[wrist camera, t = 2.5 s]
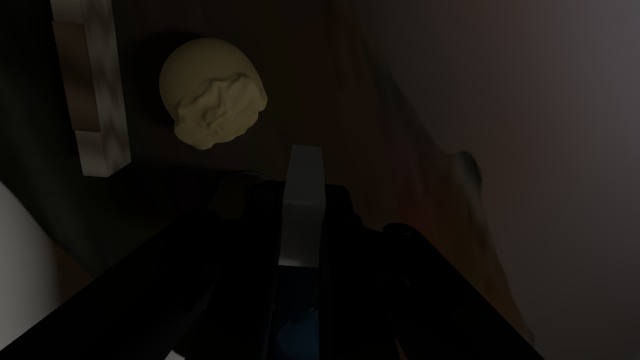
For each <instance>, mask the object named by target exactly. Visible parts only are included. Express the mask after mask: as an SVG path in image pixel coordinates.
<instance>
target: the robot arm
mask: <svg viewBox="0 0 640 360" xmlns="http://www.w3.org/2000/svg"><path fill="white" fill-rule="evenodd" d="M318 264H319V269H318V277H317V285H316V293H318V320H319V360H401V359H400V355H399V352H398V348H397V345H396V341H395V338H394V336H395V337H396V339H397V341H398V343H399V345H400V346H401V348H402V350H403V352H404V354H405V355H406V357H407V359H408V360H544V359H543V357H542V356H541V355H540V354H539V353H538V352H537V351H536V350H535V349H534V348H533V347H532V346H531V345H530V344H529V343H528V342H527V341H526V340H525V339H524V338H523V337H522V336H521V335H520V334H519V333H518V332H517V331H516V330H515V329H514V328H513V327H512V326H511V325H510V324H509V323H508V322H507V321H506V320H505V319H504V318H503V317H502V316H501V315H500V314H499V313H498V312H497V310H496V309H495V308H494V307H493V306H492V305H491V304H490V303H489V302H488V301H487V300H486V299H485V298H484V297H483V296H482V295H481V294H480V293H479V292H478V291H477V290H476V289H475V288H474V287H473V286H472V285H471V284H470V283H469V282H468V281H467V280H466V279H465V278H464V277H463V276H462V275H461V274H460V273H459V272H458V271H457V270H456V269H455V268H454V267H453V266H452V265H451V264H450V263H449V262H448V261H447V260H446V259H445V257H444V256H443V255H442V254H441V253H440V252H439V251H438V250H437V249H436V248H435V247H434V246H433V245H432V244H431V243H430V242H429V241H428V240H427V239H426V238H425V237H424V236H423V235H422V234H421V233H420V232H419V231H418V230H416V229H415V228H413V227H411V226H409V225H407V224H403V223H390V224H387V225H385V226H384V228H383V232H380V231H376V230H372V229H369V228H367V227H365V226H363V223H362V220H361V218H360V217H359V216H358V215H357V214H355V213H354V209H353V206H352V202H351V198H350V194H349V191H348V190H347V189H346V188H345V187H344V186H340V185H329V184H324V175H323V164H322V153H321V148H320V147H310V146H299V145H293V148H292V153H291V158H290V164H289V169H288V174H287V180H286V182H285V181H273V180H265V181H263V182H262V183H258V184H252V185H250V186H247V187H246V189H245V205H244V213H243V215H242V217H240V218H236V219H230V220H221V216H220V214H219V213H218V212H217V211H214V210H211V209H205V208H200V209H199V208H198V209H194V210H190V211H187V212H185V213H183V214H181V215H180V216H179V217H177V218H176V219H175V220H173V221H172V222H171V223H170V224H168V225H167V226H166V227H164V228H163V229H162V230H160V231H159V232H158V233H156V234H155V235H154V236H152V237H151V238H150V239H148V240H147V241H146V242H144V243H143V244H142V245H140V246H139V247H138V248H136V249H135V250H134V251H132V252H131V253H130V254H128V255H127V256H126V257H124V258H123V259H122V260H120V261H119V262H118V263H116V264H115V265H114V266H112V267H111V268H110V269H108V270H107V271H106V272H104V273H103V274H102V275H100V276H99V277H98V278H96V279H95V280H94V281H92V282H91V283H90V284H88V285H87V286H86V287H84V288H83V289H82V290H80V291H79V292H78V293H76V294H75V295H74V296H72V297H71V298H70V299H69V300H67V301H66V302H65V303H63V304H62V305H61V306H59V307H58V308H57V309H55V310H54V311H53V312H51V313H50V314H49V315H47V316H46V317H45V318H43V319H42V320H41V321H39V322H38V323H37V324H35V325H34V326H33V327H31V328H30V329H29V330H27V331H26V332H25V333H24V334H22V335H21V336H19V337H18V338H17V339H15V340H14V341H13V342H12V343H10V344H9V345H7V346H6V347H5V348H3V349H2V350H1V351H0V360H165V358H166V357H167V356H168V354H169V353H170V352H171V350H172V349H173V348H174V346H175V345H176V344H177V342H178V341H179V340H180V338H181V337H182V336H183V334H184V333H185V332H186V330H187V329H188V328H189V326H190V325H191V324H192V322H193V321H194V320H195V318H196V317H197V316H198V314H199V313H200V312H201V310H202V309H203V308H204V306H205V305H206V304H207V305H206V308H205V310H204V313H203V315H202V318H201V320H200V323H199V325H198V328H197V330H196V333H195V335H194V338H193V340H192V343H191V345H190V348H189V350H188V353H187V355H186V358H185V360H275V358H274V355H273V353H272V351H271V348H270V342H271V335H272V327H273V321H272V322H271V319H272V312H273V305H274V298H275V291H276V284H277V277H278V265H288V266H302V267H317V268H318ZM207 302H208V303H207Z"/></svg>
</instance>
